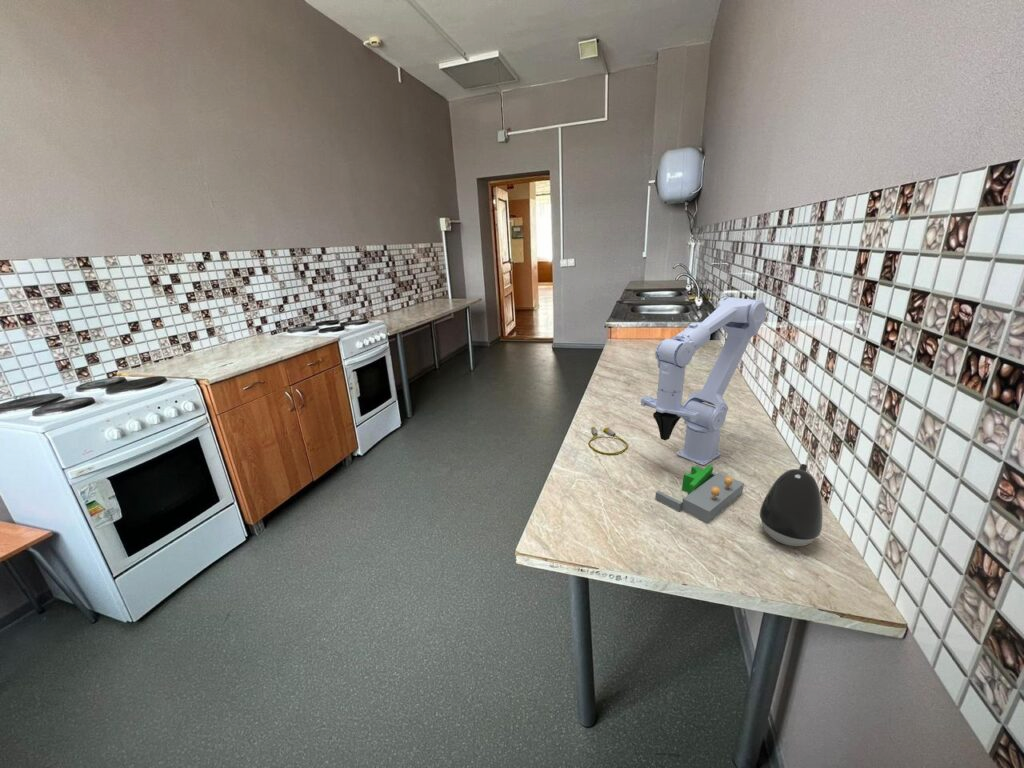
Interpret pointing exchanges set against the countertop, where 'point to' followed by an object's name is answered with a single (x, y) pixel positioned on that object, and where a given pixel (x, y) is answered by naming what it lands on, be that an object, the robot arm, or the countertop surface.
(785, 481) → the black rounded dome
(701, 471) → the pipe clamp
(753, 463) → the countertop surface
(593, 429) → the extension cord
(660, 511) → the countertop surface
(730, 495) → the pegged forked bracket
